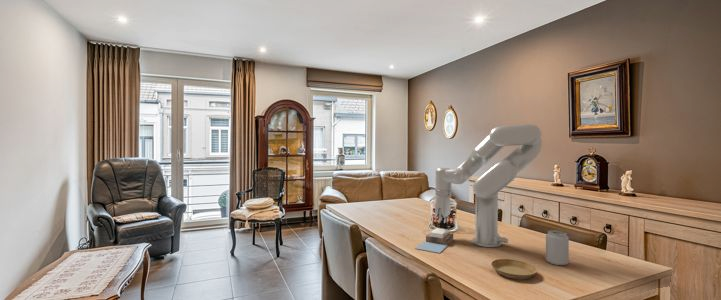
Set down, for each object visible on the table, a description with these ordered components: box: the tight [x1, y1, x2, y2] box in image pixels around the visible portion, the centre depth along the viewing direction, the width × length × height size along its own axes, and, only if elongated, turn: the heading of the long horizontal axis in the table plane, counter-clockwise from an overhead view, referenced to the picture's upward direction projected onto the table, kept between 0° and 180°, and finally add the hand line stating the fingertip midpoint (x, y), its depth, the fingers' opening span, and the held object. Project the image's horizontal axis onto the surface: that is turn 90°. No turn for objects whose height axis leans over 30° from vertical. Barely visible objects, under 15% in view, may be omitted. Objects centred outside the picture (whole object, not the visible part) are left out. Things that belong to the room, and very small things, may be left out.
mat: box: [414, 241, 449, 254], centre depth 141 cm, size 11×11×1 cm
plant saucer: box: [490, 258, 538, 280], centre depth 113 cm, size 15×15×3 cm
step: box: [425, 233, 454, 245], centre depth 150 cm, size 10×10×3 cm
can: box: [545, 229, 570, 266], centre depth 122 cm, size 8×8×12 cm
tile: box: [429, 227, 449, 238], centre depth 150 cm, size 6×9×2 cm, turn 147°
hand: (443, 230), depth 155 cm, fingers closed
